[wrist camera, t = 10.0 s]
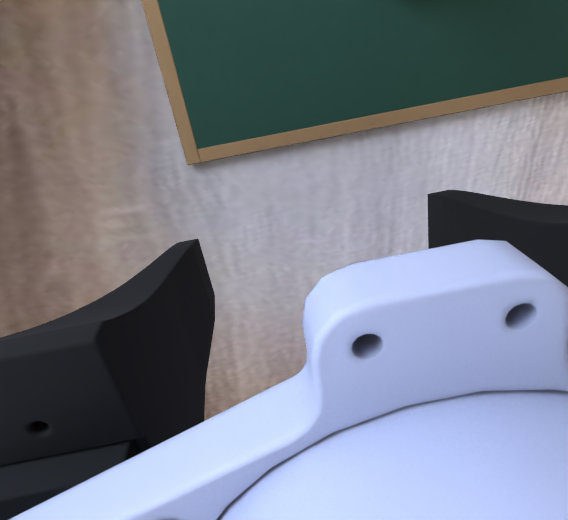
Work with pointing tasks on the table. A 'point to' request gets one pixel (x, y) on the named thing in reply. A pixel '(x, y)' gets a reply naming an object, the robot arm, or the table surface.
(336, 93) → the desk mat
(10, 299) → the table surface
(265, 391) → the robot arm
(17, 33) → the table surface
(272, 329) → the table surface
